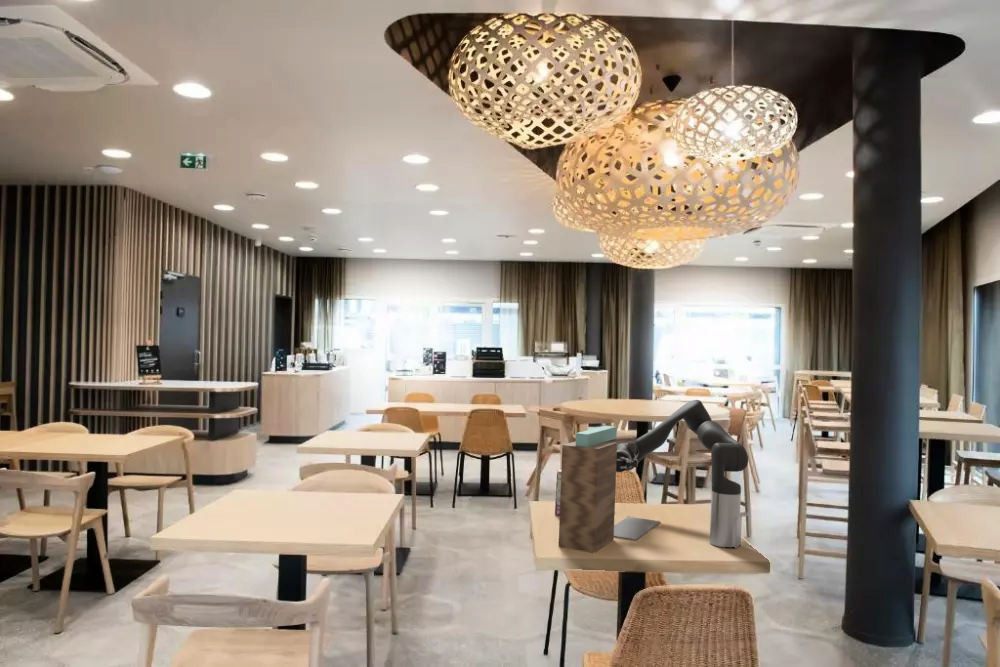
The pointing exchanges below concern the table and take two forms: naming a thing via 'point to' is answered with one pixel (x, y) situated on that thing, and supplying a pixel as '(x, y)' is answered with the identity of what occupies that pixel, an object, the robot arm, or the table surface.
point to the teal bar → (596, 436)
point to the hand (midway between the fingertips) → (614, 465)
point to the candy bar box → (558, 493)
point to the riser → (587, 496)
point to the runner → (633, 528)
